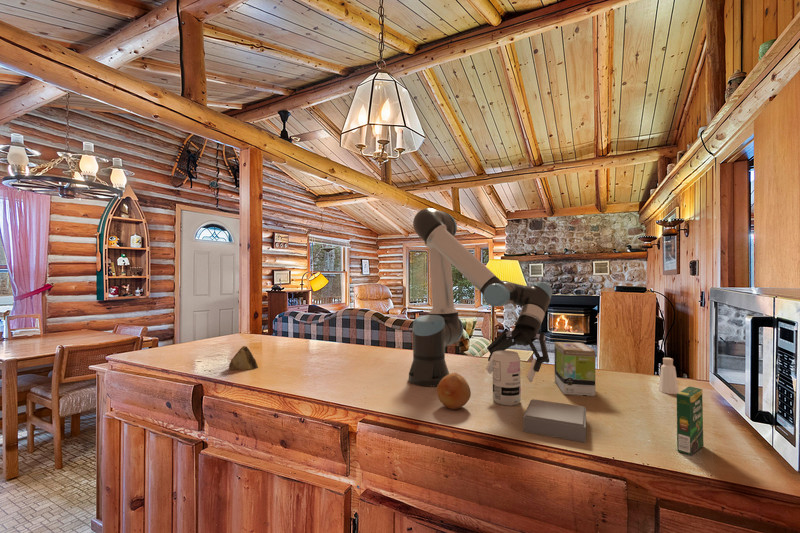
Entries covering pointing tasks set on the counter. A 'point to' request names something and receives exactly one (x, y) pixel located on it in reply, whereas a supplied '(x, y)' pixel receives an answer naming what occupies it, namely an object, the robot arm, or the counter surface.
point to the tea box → (575, 368)
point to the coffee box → (689, 420)
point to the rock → (243, 360)
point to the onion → (453, 391)
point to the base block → (555, 420)
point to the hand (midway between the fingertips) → (508, 375)
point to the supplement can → (506, 377)
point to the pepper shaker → (668, 377)
